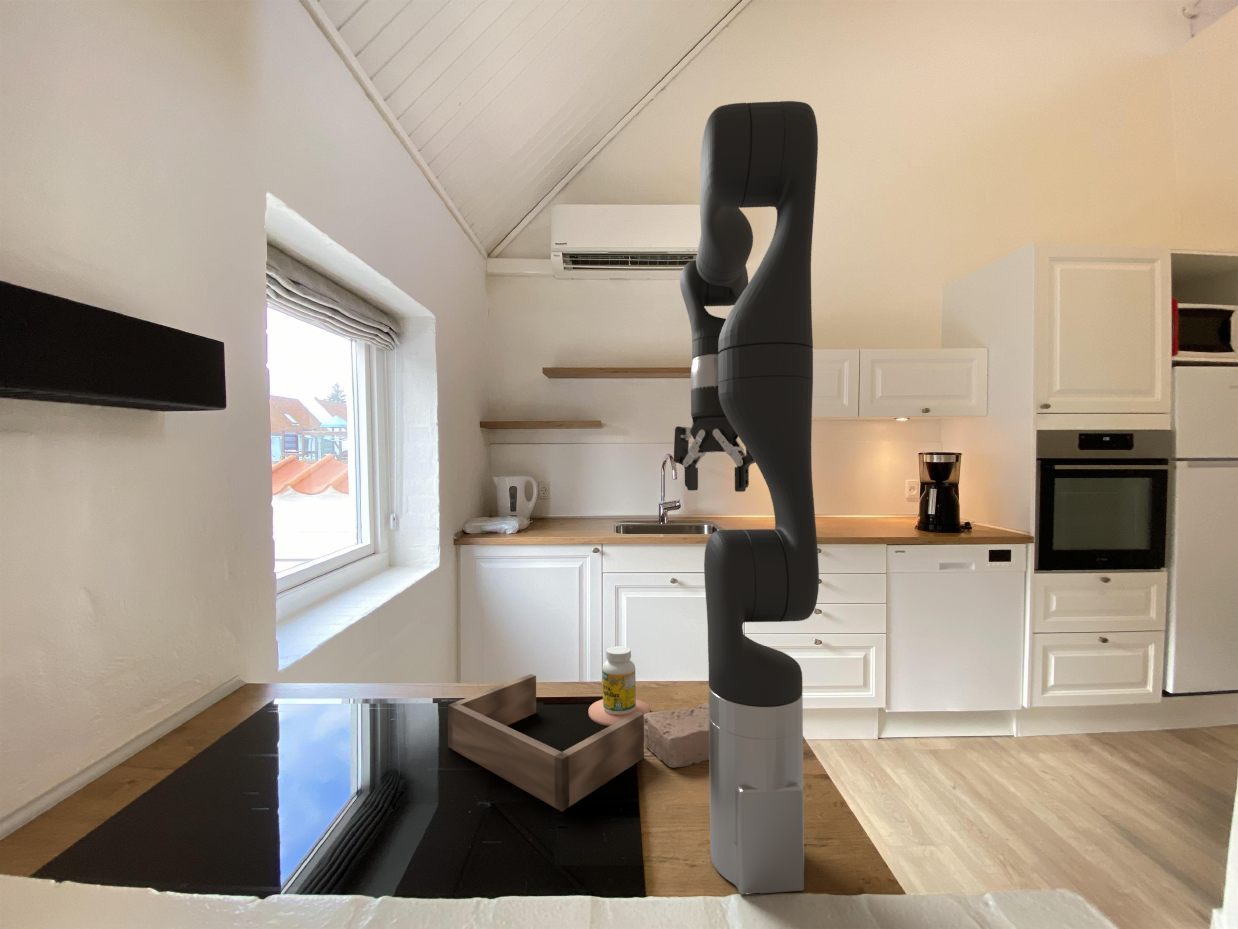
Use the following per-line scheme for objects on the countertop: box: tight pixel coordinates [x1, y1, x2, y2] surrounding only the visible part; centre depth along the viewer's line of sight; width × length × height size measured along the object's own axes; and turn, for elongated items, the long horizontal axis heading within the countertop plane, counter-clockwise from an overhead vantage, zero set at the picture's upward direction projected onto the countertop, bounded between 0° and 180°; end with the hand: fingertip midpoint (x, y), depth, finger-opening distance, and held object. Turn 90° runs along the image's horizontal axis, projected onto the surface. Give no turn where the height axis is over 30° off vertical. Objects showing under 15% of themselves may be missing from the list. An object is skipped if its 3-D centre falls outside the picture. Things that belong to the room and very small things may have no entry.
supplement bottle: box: [602, 645, 637, 715], centre depth 90 cm, size 5×5×10 cm
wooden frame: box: [447, 673, 645, 812], centre depth 77 cm, size 16×23×6 cm, turn 50°
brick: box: [644, 702, 709, 769], centre depth 80 cm, size 17×8×5 cm, turn 116°
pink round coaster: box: [588, 698, 651, 727], centre depth 90 cm, size 10×10×1 cm
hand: (715, 490), depth 86 cm, fingers open, 8 cm apart
